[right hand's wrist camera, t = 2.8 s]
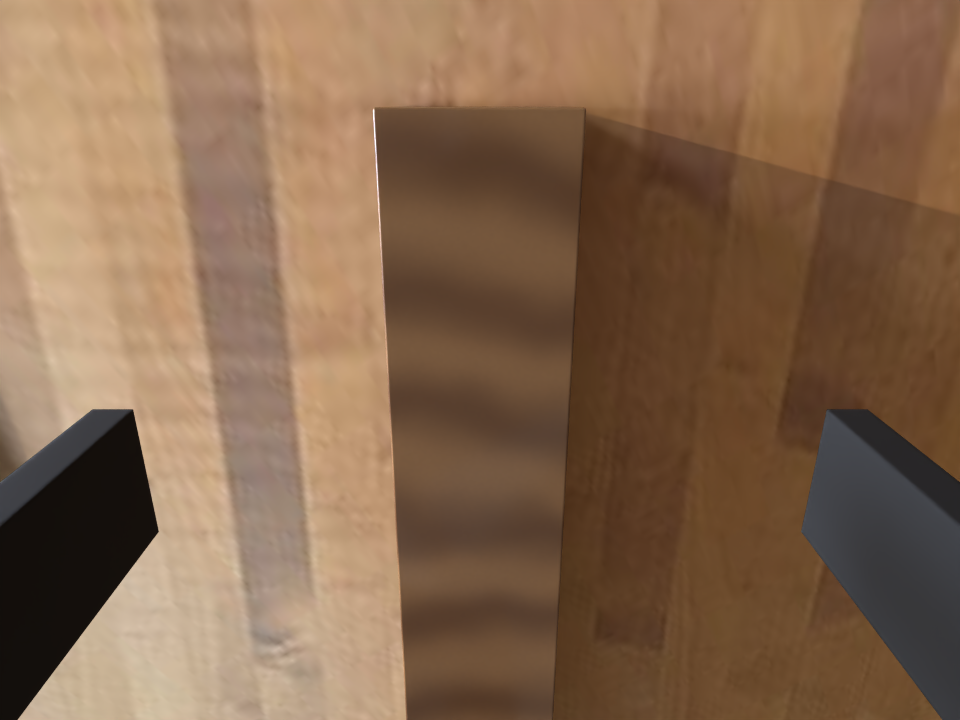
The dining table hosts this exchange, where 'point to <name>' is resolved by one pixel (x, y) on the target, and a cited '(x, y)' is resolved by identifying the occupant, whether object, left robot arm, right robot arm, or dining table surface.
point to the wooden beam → (479, 394)
